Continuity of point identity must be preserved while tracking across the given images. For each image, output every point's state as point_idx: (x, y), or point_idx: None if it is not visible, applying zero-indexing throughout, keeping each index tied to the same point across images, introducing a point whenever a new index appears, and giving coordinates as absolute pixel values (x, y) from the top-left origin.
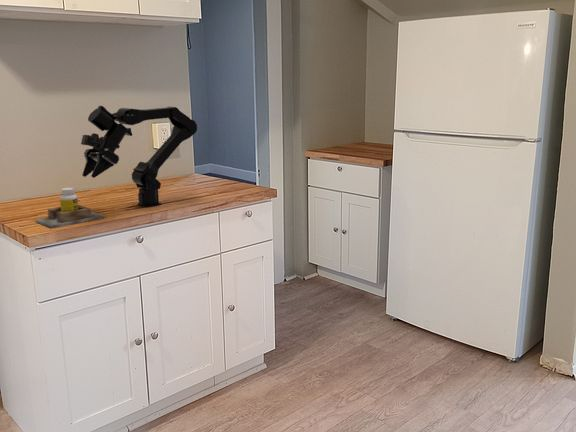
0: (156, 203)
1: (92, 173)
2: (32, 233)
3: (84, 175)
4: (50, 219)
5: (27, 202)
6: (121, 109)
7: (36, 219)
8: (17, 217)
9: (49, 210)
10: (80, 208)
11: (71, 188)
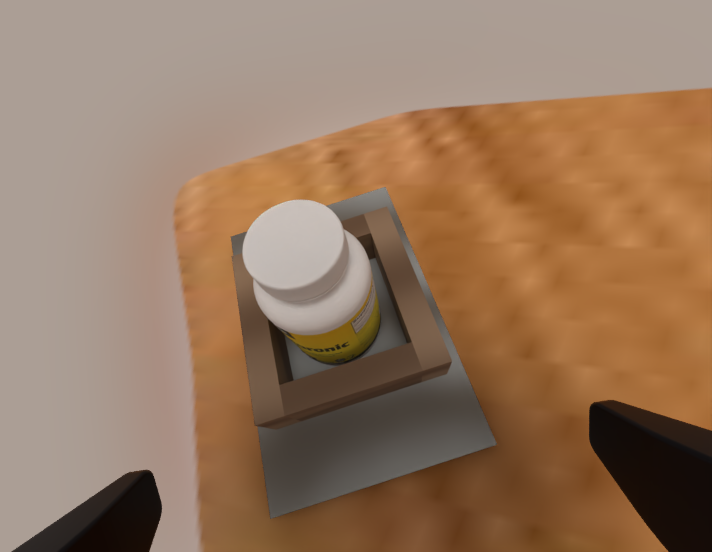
0: None
1: (93, 500)
2: (211, 186)
3: (603, 437)
4: None
5: None
6: None
7: (380, 191)
8: (505, 137)
9: (366, 216)
10: (329, 370)
11: (288, 266)
